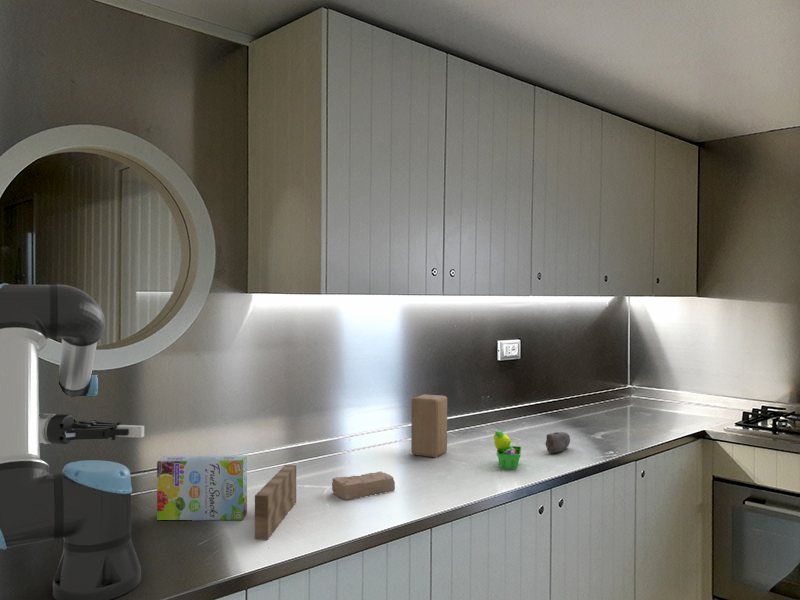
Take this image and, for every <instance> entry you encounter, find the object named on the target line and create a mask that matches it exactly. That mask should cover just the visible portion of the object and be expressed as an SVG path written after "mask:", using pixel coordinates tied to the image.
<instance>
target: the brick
mask: <svg viewBox="0 0 800 600" xmlns="http://www.w3.org/2000/svg"><path fill="white" fill-rule="evenodd" d="M331 490H332V493H333V494H334V495H336V496H338V497H339V498H340V499H341V498H342V499H343V500H348V501H349V500H355V498H356V499H361V498H360V497H363V498H366V497H365V496H368V497H371V496H370V495H373V496H376V495H375V494H377V495H381V494H380V493H382V494H386V493H385V492H387V493H390V491H391V492H395V491H394V490H396V482H395V478H394V476H393V475H391V474H388V473H386V472H383V471H376V472H369V473H364V474H361V475H350V476H340V477H339V476H338V477H333V478H332V482H331Z"/></svg>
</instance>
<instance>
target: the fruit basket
mask: <svg viewBox="0 0 800 600" xmlns="http://www.w3.org/2000/svg"><path fill="white" fill-rule="evenodd" d="M493 438H494V439H493V440H494V446H495V448H496V456H497V459H498V463H499V467H500V469H501V468H505V470H518V466H519V461H520V458H521V456H522V447H521V446H518V445H515V446H514V445H511V443H512V440H511V438H510V437H509V436H508V435H507V434H505V433H504V432H503V431H502V430H495V432H494V435H493Z"/></svg>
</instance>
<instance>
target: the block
mask: <svg viewBox="0 0 800 600" xmlns="http://www.w3.org/2000/svg"><path fill="white" fill-rule="evenodd" d="M410 428H411V429H410V430H411V435H410V437H411V442H410V443H411V450H410V451H411V452H410V453H411V455H414V456H419V457H420V456H421V457H428V458H438V457H439V456H441V455H443V454H445V453H447V451H448V397H447V396H446V395H437V394H425V393H424V394H421V395H418V396H415V397H412V398H411V426H410Z"/></svg>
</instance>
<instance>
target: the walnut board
mask: <svg viewBox="0 0 800 600" xmlns="http://www.w3.org/2000/svg"><path fill="white" fill-rule="evenodd" d="M295 503H296V504H297V465H295V464H294V465H293V464H292V465H291V464H285V465H284V466H283V467H282V468H280V470H279V471H277V472H276V474H275V475H274V476H273V477H271V479H270V480H269V481H267V483H266V484H265V485H264V486H262V488H261V489H259V491H257V493H256V494H254V540H255V539H266V540H265V541H268V540H269V539H270V538H271V537H272V535H273V534H274V532H275V531H276V530H277V529H278V528H279V526H280V525H281V524H282V522H283V521H284V520H285V518H286V517H285V516H287V515H288V514H289V513H290V511H291V510H292V509H293V507H294V506H295V505H296V504H295ZM288 512H289V513H288ZM282 520H283V521H282ZM279 524H280V525H279ZM276 528H277V529H276ZM272 533H273V534H272ZM269 537H270V538H269Z"/></svg>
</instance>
